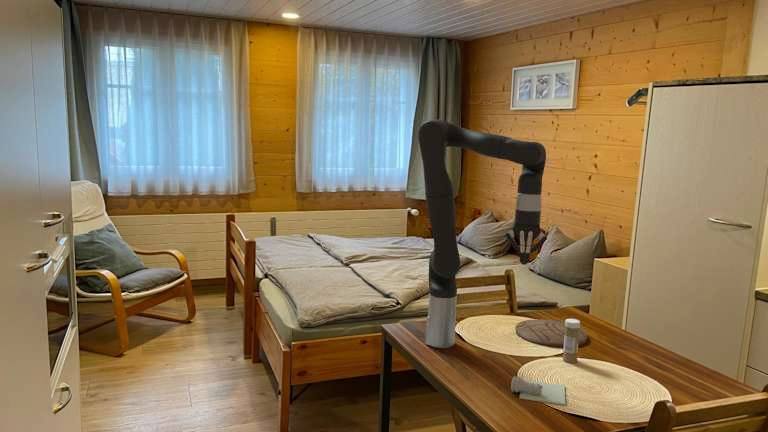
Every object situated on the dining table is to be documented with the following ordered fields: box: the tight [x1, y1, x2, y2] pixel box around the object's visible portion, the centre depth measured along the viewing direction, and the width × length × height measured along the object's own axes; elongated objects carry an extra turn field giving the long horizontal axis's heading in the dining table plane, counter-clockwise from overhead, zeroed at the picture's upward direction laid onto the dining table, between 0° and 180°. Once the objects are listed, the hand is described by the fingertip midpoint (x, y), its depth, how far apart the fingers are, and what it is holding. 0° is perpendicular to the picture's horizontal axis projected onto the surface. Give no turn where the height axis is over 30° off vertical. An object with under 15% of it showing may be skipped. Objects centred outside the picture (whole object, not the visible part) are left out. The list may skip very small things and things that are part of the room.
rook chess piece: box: [510, 375, 542, 395], centre depth 162 cm, size 4×4×8 cm
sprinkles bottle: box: [562, 318, 581, 364], centre depth 187 cm, size 5×5×14 cm
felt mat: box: [519, 378, 566, 406], centre depth 164 cm, size 12×12×1 cm
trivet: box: [514, 318, 588, 349], centre depth 211 cm, size 25×25×2 cm
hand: (524, 264), depth 179 cm, fingers closed
